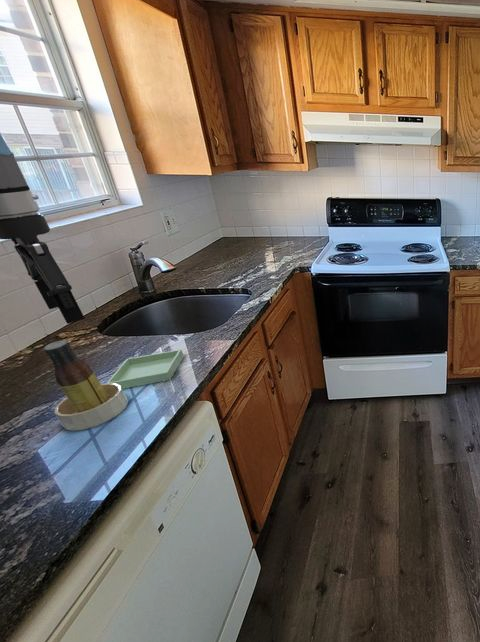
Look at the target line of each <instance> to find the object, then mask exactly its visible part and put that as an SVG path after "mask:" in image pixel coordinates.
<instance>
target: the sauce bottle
mask: <svg viewBox="0 0 480 642" xmlns="http://www.w3.org/2000/svg"><path fill="white" fill-rule="evenodd" d="M43 351H44V352H45V355H47V356H49V358H50V360H51V362H52V364H53V367H54V376H55V381H56V383H57V384H58V386H59V388H60V389H61V390H62V392H63V393H64V395H65V396H66V398H68V399H69V401H70V402H71V404H72V405H73V407H74V408H75V410H76V411H77V413H80V412H84V411H87V410H90V409H92V408H95V407H97V406H99V405H101V404H103V403H105V402H107V401H108V400H109V399H110V398H109V397H108V395H107V393H106V392H105V390H104V388H103V387H102V385H101V384H102V383H101V382H100V380H99V379H98V376H97V375H96V374H95V372H94V371H93V370H92V368H91V367H90V365H89V363H87V361H85V360H84V359H82V358H80V357H78V356H77V355H76V354H75V353H74V351H73V349H72V348H71V344H70V343H69V341H68V340H64V339H63V340H57V341H54V342H51V343H49V344H47V345H45V346H44V347H43Z"/></svg>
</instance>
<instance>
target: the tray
mask: <svg viewBox="0 0 480 642" xmlns="http://www.w3.org/2000/svg"><path fill="white" fill-rule="evenodd" d="M184 357H185V355H184V353H183V350H182V349H181V348H180V349H176V350H174V349H173V350H169V351H164V352H163V351H162V352H158V353H151V354H146V355H141V356H134V357H129V358H126V359H125V360H124V362H123V363H122V364H121V365H120V366H119V368H117V370H116V371H115V372H114V373H113V375H112V376H111V377H110V378H109V379H108V380H107V382H106V383H116V384H118V385H120V386H121V387H122V389H123V390H124V389H130V388H133V387H134V388H135V387H140V386H145V385H150V384H154V383H160V382H165V381H171V379H172V377H173V376H174V374H175V372H176V370H177V369H178V367H179V365H180V363H181V362H182V360H183V358H184Z"/></svg>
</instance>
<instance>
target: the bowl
mask: <svg viewBox="0 0 480 642" xmlns="http://www.w3.org/2000/svg"><path fill="white" fill-rule="evenodd" d="M101 385H102V387H103V388H104V390H105V392H106V393H107V395H108V397H109V398H110V399H109V400H108V401H107V402H105V403H103V404H101V405H99V406H97V407H95V408H92V409H90V410H87V411H84V412H80V413H77V411H76V410H75V408H74V407H73V405H72V404H71V402H70V401H69V399H68V398H67V397H66V398H64V399H62V400H61V401H60V402H59V403H58V404H57V405H56V406H55V407H54V414H55V417H56V418H57V420H58V421H59V423H60V425H61V426H62V427H63V428H64V429H65V430H67V431H73V432H74V431H75V432H76V431H82V430H88V429H91V428H94V427H98V426H99V425H102V424H104V423H106V422H108V421H110V420H112V419H113V418H115V417H117V416H119V414H121V413H122V412H123V411H124V410H125V409H126V408H127V407H128V404H129V401H128V397H127V395H126V393H125V391H124V389H122V387H121V386H120V385H118V384H116V383H107V382H106V383H101Z"/></svg>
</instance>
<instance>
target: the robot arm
mask: <svg viewBox="0 0 480 642" xmlns="http://www.w3.org/2000/svg"><path fill="white" fill-rule="evenodd" d="M32 193H33V192H32V191H31V188H30V186H29V185H28V182H27V180H26V178H25V176H24V174H23V172H22V169H21V167H20V166H19V163H18V161H17V159H16V157H15V153H14V152H13V151H12V150H11V148H10V146H9V145H8V143H7V141H6V139H5V138H4V136H3V134H2V132H0V240H11V241H12V242H13V244H14V245H13V247H14V250H15V251H16V253H17V254H18V255H19V258H20V259H21V260H22V263H23V265H24V267H25V269H26V271H27V275H28V276H29V277H30V278H31V280H33V282H34V285H35V287H36V288H37V290H38V292H39V293H40V296H41V297H42V299H43V301H44V302H45V304H46V306H47V308H48V309H49V310H53V309H56V308H58V309H59V312H60V313H61V315H62V317H63V319H64V320H65V323H66V324H68V325H69V324H73V323H76V322H79V321H83V320H85V319H86V318H85V316H84V314H83V312H82V310H81V308H80V306H79V304H78V302H77V300H76V297H75V296H74V294H73V292H72V291H71V290H73V287H72V285H71V284H70V283H69V281H68V280H67V278H66V277H65V275H64V273H63V271H62V270H61V268H60V267H59V265H58V263H57V262H56V259H55V258H54V257H53V255H52V253H51V251H50V250H49V247H48V245H47V243H46V242H44V241H40V240H39V238H38V236H40V235H45V234H48V233H49V232H50V231H51V228H50V226H49V224H48V222H47V219H46V218H45V216H44V215H43V214H42V213H39V211H40V206H39V204H38V203H37V201H36V200H39V195H37V194H32Z"/></svg>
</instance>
